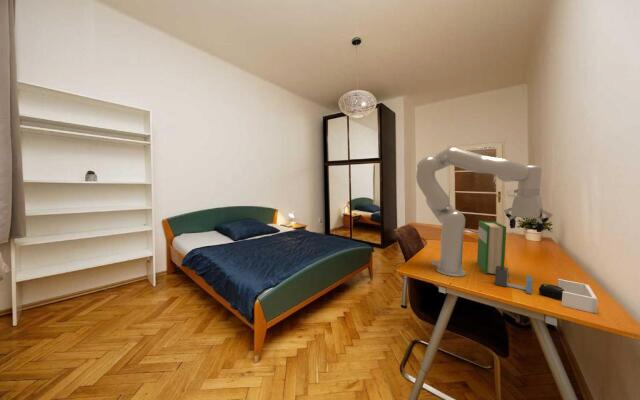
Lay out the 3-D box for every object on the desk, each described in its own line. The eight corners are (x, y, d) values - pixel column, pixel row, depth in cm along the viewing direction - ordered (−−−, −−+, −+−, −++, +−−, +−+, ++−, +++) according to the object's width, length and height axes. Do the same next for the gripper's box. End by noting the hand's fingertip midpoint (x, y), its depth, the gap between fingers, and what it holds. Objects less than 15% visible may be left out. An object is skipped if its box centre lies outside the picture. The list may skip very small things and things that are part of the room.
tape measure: (537, 295, 92) (538, 285, 91) (542, 290, 95) (543, 281, 95) (562, 302, 86) (562, 292, 86) (566, 297, 90) (566, 287, 90)
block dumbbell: (494, 285, 99) (495, 269, 99) (496, 279, 105) (496, 264, 105) (531, 294, 91) (532, 276, 91) (531, 287, 97) (532, 271, 97)
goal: (561, 305, 83) (562, 292, 83) (557, 290, 95) (558, 278, 95) (596, 313, 78) (597, 299, 77) (587, 297, 90) (588, 284, 89)
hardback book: (503, 276, 110) (506, 226, 108) (484, 274, 112) (487, 225, 111) (493, 265, 126) (495, 221, 124) (477, 263, 129) (479, 220, 127)
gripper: (501, 192, 111) (499, 227, 112) (550, 193, 95) (546, 234, 96) (509, 192, 114) (507, 226, 115) (557, 193, 99) (554, 233, 100)
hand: (525, 229), depth 106 cm, fingers open, 9 cm apart
